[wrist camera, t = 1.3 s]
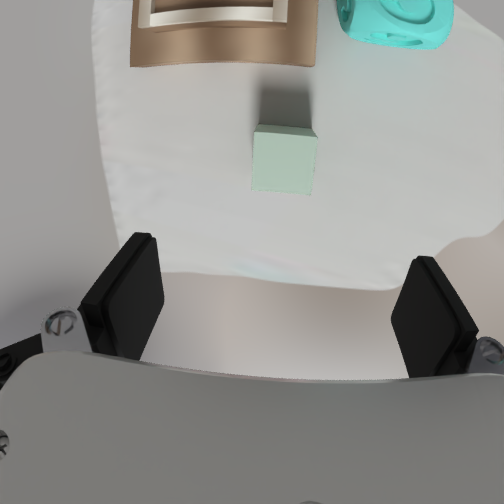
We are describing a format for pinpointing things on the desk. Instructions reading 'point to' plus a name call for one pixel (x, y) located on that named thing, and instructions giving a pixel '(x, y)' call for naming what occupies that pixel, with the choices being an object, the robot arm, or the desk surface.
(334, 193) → the desk surface
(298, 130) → the sage block
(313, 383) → the robot arm
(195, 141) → the desk surface
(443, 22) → the decorative dice
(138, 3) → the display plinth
